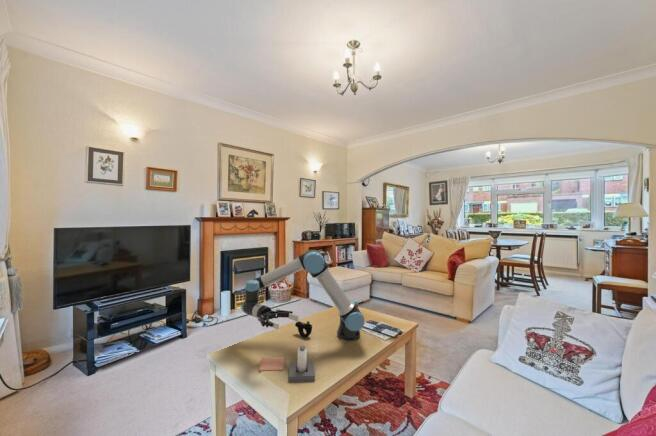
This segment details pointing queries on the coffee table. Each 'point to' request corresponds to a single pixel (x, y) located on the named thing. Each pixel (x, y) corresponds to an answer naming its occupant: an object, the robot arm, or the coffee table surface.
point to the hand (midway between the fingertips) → (288, 322)
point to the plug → (302, 359)
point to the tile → (272, 364)
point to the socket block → (301, 373)
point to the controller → (304, 326)
